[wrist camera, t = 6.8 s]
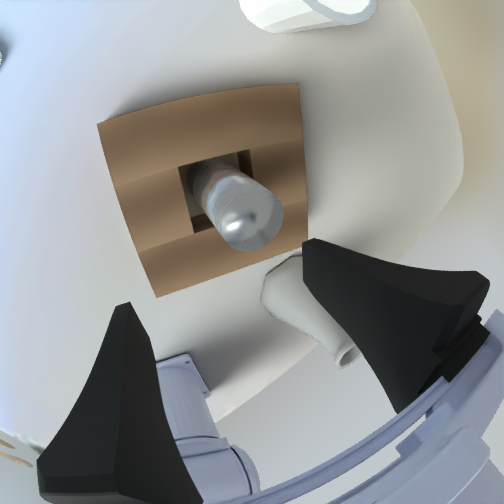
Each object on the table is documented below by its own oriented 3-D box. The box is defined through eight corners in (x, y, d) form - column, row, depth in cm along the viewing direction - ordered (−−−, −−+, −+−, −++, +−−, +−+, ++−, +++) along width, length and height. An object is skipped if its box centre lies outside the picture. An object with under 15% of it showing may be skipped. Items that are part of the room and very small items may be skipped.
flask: (253, 270, 24) (315, 351, 16) (321, 242, 26) (395, 304, 18) (264, 323, 28) (313, 396, 21) (321, 296, 30) (378, 356, 22)
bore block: (289, 228, 24) (308, 244, 21) (152, 274, 21) (156, 297, 18) (275, 85, 17) (297, 83, 15) (103, 122, 14) (96, 124, 12)
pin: (231, 196, 20) (281, 243, 14) (188, 204, 18) (223, 258, 13) (231, 153, 18) (285, 185, 13) (184, 159, 17) (220, 195, 11)
